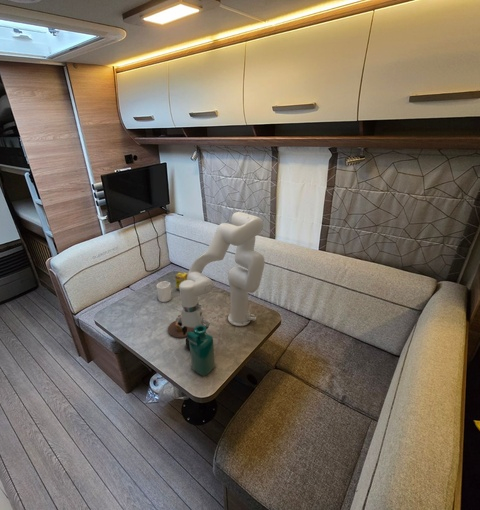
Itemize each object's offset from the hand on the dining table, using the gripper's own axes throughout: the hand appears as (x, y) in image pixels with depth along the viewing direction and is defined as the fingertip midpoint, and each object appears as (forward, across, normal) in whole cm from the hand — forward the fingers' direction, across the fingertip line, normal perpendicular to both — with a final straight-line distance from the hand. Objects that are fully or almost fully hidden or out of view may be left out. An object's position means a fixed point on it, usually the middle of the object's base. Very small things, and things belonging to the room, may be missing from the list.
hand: (194, 334), depth 135 cm
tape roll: (+6, +1, +1) cm, 7 cm away
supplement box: (+8, +28, -47) cm, 55 cm away
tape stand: (+6, +12, -9) cm, 16 cm away
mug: (+7, +34, -35) cm, 49 cm away
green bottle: (+6, -8, +13) cm, 17 cm away
